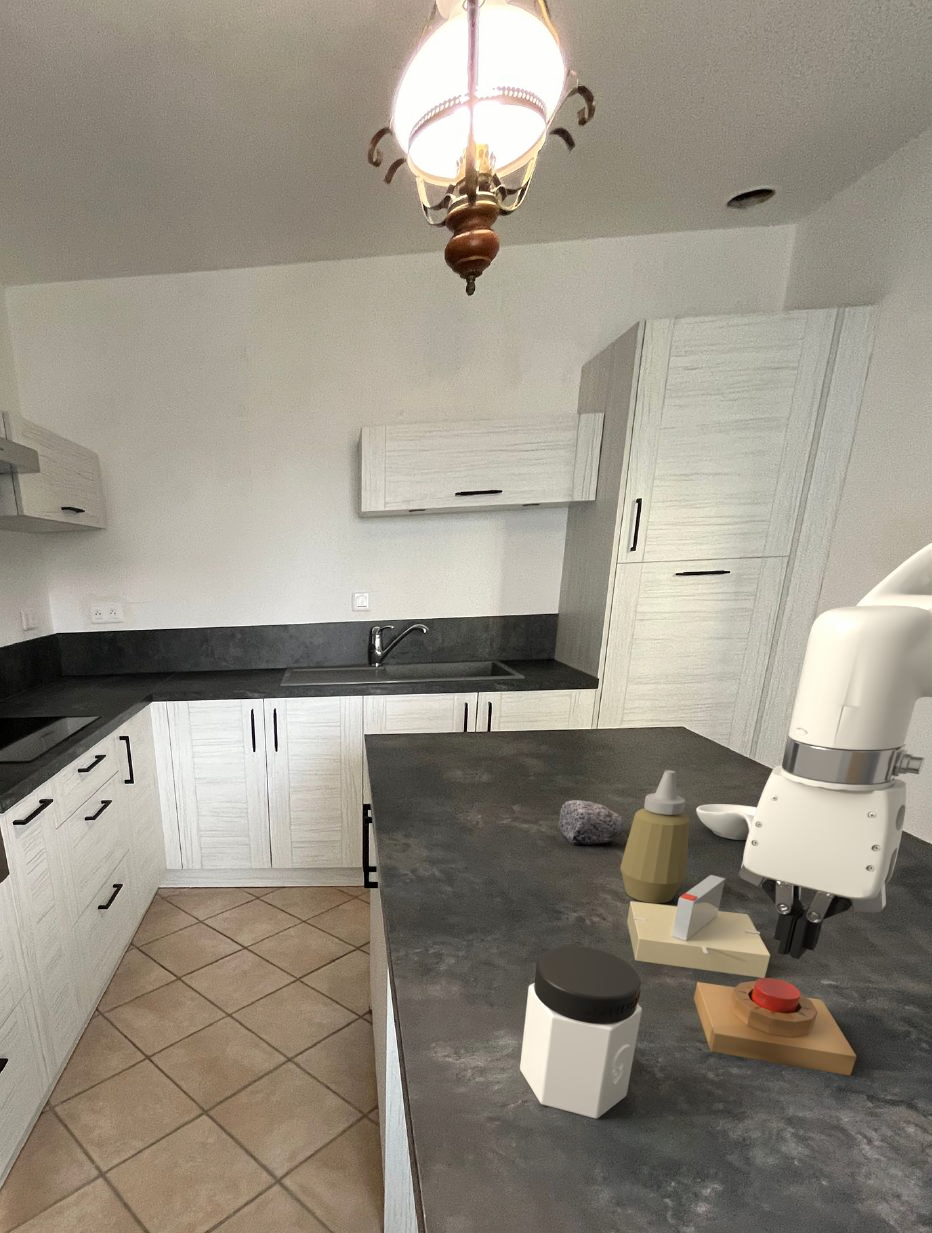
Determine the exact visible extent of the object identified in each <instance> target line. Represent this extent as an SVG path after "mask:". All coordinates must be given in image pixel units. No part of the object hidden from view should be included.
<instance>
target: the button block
mask: <svg viewBox="0 0 932 1233" xmlns="http://www.w3.org/2000/svg"><path fill="white" fill-rule="evenodd" d="M755 982H756V980H751V981H744V982H739V983H738V984H737V985H736V986H729V985H722V984H715V983H707V982H701V981H697V982H696V987H695V991H694V996H693V1001H694V1004H695V1007H696V1010H697V1013H698V1016H699V1019H700V1023H701V1025H702V1029H703V1032H704V1035H705V1039H706V1041H707V1044H708V1047H709V1050H710V1052H711V1053H716V1054H723V1055H729V1056H735V1057H739V1058H740V1057H741V1058H746V1059H752V1060H757V1061H764V1062H768V1063H769V1062H770V1063H775V1064H781V1065H787V1066H793V1067H798V1068H802V1069H803V1068H805V1069H810V1070H816V1071H822V1072H827V1073H833V1074H839V1075H845V1076H851V1075H852V1072H853V1069H854V1066H855V1063H856V1060H857V1055H856V1052H855V1051H854V1050H853V1048H852V1046H851V1045H850V1043H849V1041H848V1040H847V1038H846V1036H845V1035H844V1033H843V1031H842V1030H841V1028H840V1027H839V1025H838V1023H837V1022H836V1020H835V1019H834V1017H833V1015H832V1014H831V1012H830V1011H829V1008H828V1007H827V1005H826V1004H825V1002H824V1001H823V999H819V998H813V997H812V998H811V997H806V996H805V995H803V994H801V995H800V999H799V1003H798V1006H797V1010H796V1012H795V1013H790V1014H785V1013H778V1012H773V1011H770V1010H767V1009H765V1008H762V1007H760V1006H758V1005H757V1004H756V1003H754V1002H753V1001H752V999H751V997H752V993H753V989H754V985H755Z"/></svg>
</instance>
